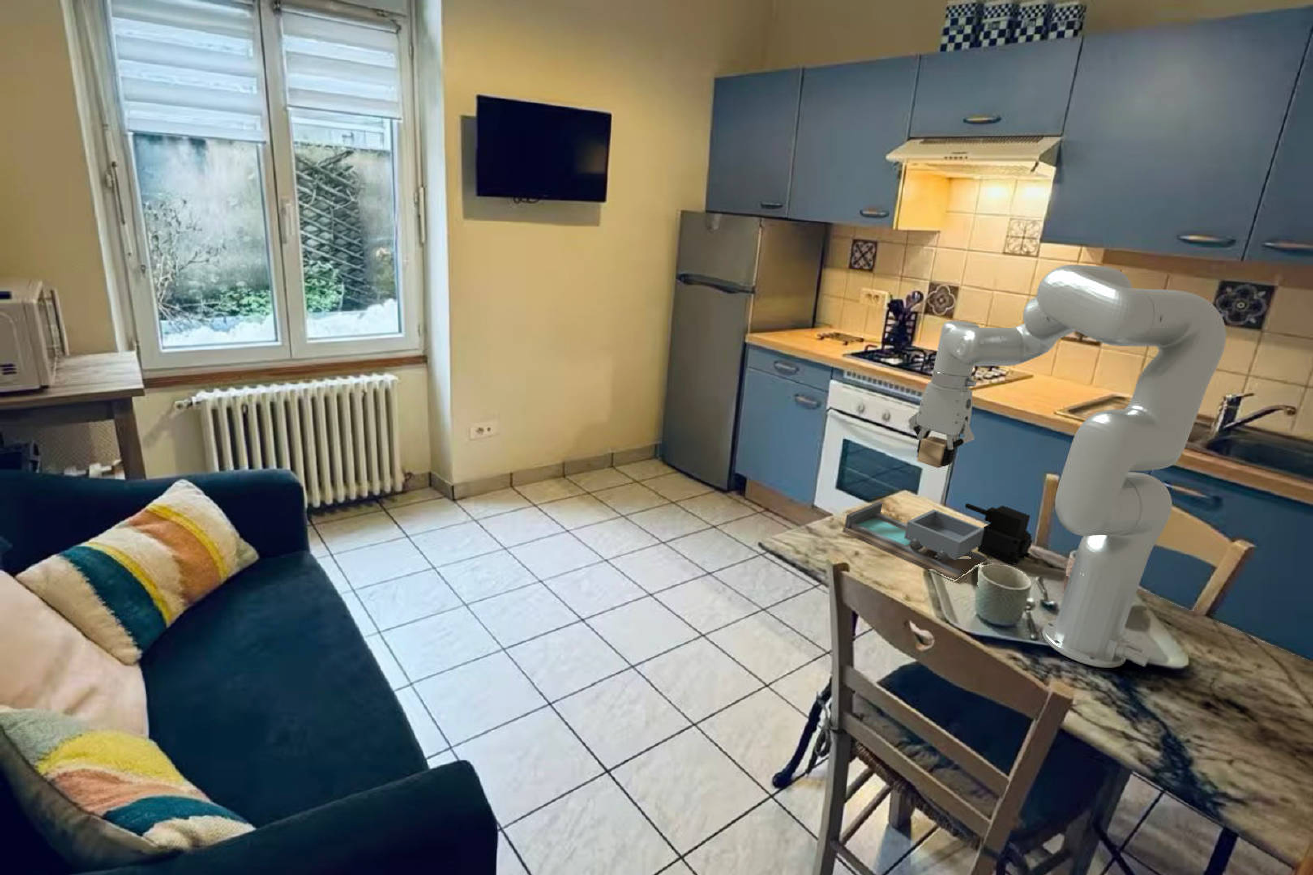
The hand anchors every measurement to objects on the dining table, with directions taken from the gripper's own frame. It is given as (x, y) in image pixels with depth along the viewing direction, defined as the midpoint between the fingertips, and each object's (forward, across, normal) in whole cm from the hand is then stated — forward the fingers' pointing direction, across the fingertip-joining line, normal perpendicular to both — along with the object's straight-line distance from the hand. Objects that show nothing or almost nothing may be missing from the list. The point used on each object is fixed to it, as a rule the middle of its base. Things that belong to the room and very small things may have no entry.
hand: (933, 460), depth 157 cm
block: (+1, 0, 0) cm, 1 cm away
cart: (+15, -10, +9) cm, 20 cm away
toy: (+17, -14, -4) cm, 23 cm away
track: (+17, -4, +9) cm, 20 cm away
